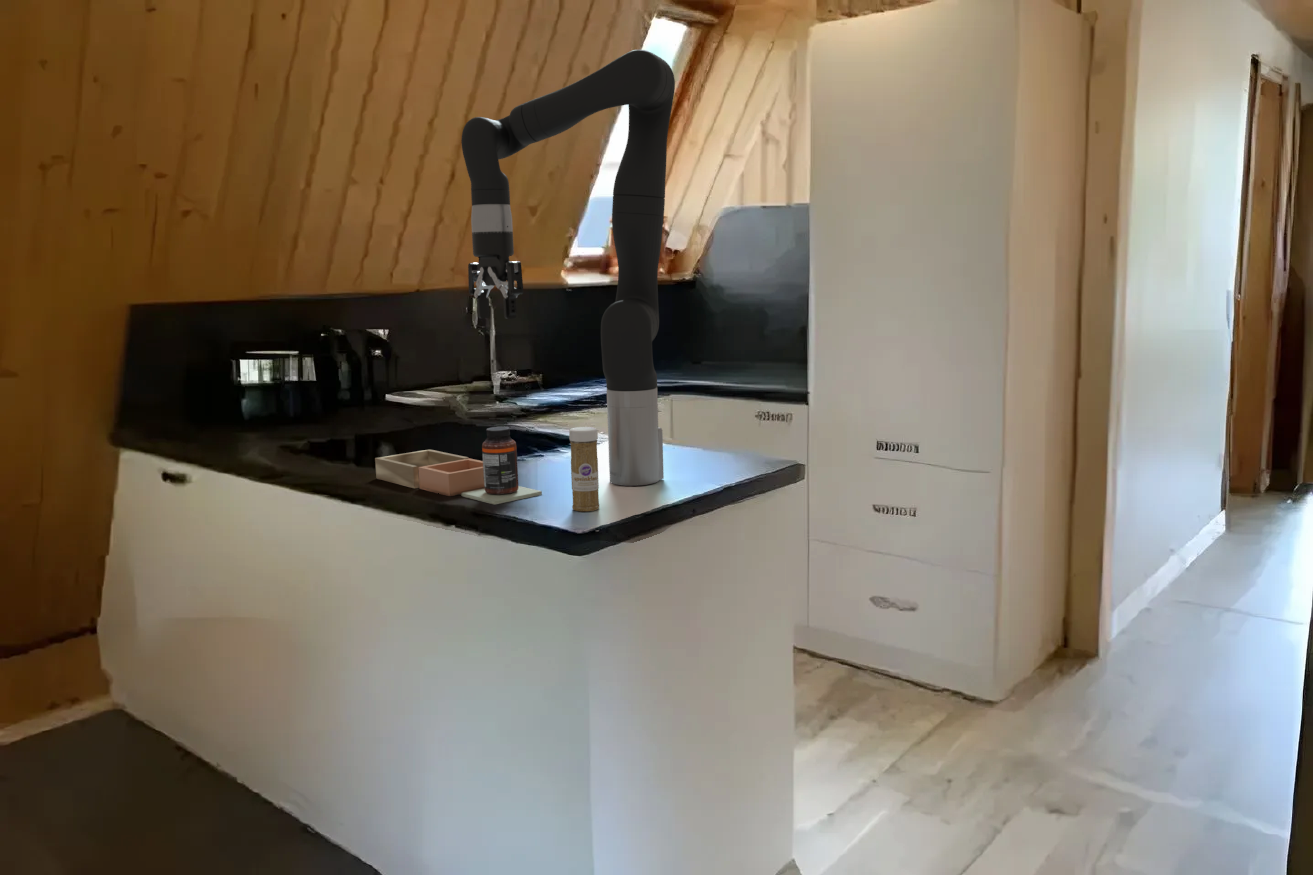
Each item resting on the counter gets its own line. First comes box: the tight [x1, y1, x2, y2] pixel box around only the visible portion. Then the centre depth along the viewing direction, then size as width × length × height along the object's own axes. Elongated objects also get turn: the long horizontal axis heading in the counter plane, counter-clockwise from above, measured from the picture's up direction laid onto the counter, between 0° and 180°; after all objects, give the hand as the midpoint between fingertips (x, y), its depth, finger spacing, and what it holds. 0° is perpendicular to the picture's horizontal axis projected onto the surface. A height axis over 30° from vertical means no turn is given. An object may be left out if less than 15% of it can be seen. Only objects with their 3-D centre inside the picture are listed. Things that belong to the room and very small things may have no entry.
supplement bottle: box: [481, 426, 519, 495], centre depth 178 cm, size 6×6×11 cm
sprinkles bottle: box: [568, 426, 600, 513], centre depth 166 cm, size 5×5×14 cm
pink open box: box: [418, 458, 485, 497], centre depth 186 cm, size 11×10×4 cm
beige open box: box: [374, 449, 469, 489], centre depth 195 cm, size 12×14×4 cm
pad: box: [460, 485, 543, 505], centre depth 179 cm, size 10×10×1 cm
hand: (496, 318), depth 192 cm, fingers open, 8 cm apart
